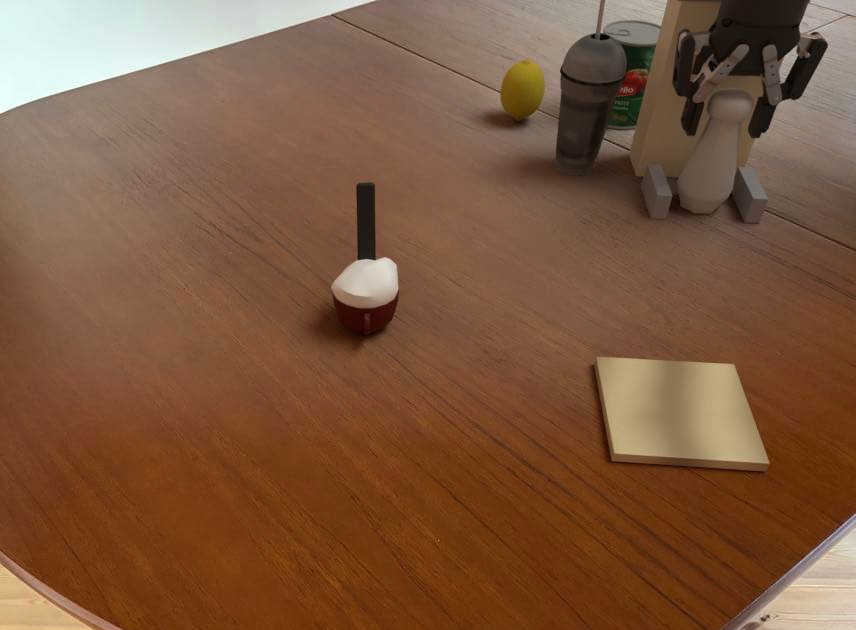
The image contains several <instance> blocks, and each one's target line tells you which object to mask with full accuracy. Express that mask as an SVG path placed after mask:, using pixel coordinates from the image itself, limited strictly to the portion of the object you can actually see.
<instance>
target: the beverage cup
mask: <svg viewBox="0 0 856 630" xmlns="http://www.w3.org/2000/svg"><path fill="white" fill-rule="evenodd" d="M605 5H606V0H600V3H599V9H598V15H597V21H596V29H595V32H594V33H589V34H586V35H584V36H582V37H581V38H579V39H578V40H577V41H575V42H574V43H573V44H572V45H571V46H570V47H569V49H568V50H567V52H566V54H565V56H564V59H563V61H562V64H561V66H560V68H559V74H560V78H559V79H560V80H559V81H560V82H559V83H560V85H559V87H560V90H561V91H560V99H559V100H560V102H559V111H558V123H557V134H556V142H555V143H556V144H555V164H554V166H555V168H556V169H557V170H558V171H559V172H561V173H563V174H565V175H570V176H583V175H587V174H589V173H591V172H592V171H593V169H594V165H595V163H596V160H597V159H598V156H599V153H600V151H601V147H602V144H603V140H604V137H605V134H606V131H607V129H608V128H607V125H608V122H609V119H610V115H611V112H612V109H613V106H614V103H615V100H616V97H617V95H618V94H619V92H620V89H621V87H622V85H623V81H624V80H625V79H626V55H625V52H624V49H623V48H622V46H621V44H620V43H619V42H618V41H617V40H616V39H615V38H613V37H612V36H610V35H607V34H604V33H603V32H602V24H603V19H604V11H605Z"/></svg>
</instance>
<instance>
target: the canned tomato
mask: <svg viewBox="0 0 856 630" xmlns="http://www.w3.org/2000/svg"><path fill="white" fill-rule="evenodd" d="M660 28H661V25H660V24H657V23H655V22H651V21H645V20H640V19H639V20H638V19H624V20H623V19H622V20H616V21H612V22H609V23H607V24H606V25H605V26H604V27H603V29H602V31H603V32H602V33H604V34H607V35H610V36H612V37H613V38H615V39H616V40H617V41H618V42H619V43H620V44H621V46H622V48H623V49H624V52H625V55H626V79H625V80H624V81H623V85H622V87H621V89H620V92H619V94H618V95H617V97H616V100H615V103H614V106H613V109H612V112H611V115H610V119H609V122H608V125H607V128H606V129H612V130H619V131H620V130H635V128H636V124H637V120H638V116H639V112H640V108H641V104H642V100H643V96H644V92H645V88H646V84H647V80H648V76H649V72H650V68H651V64H652V60H653V56H654V52H655V48H656V44H657V40H658V36H659V32H660Z"/></svg>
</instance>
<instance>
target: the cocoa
mask: <svg viewBox="0 0 856 630" xmlns="http://www.w3.org/2000/svg"><path fill="white" fill-rule="evenodd" d="M355 189H356V191H355V192H356V193H355V196H356V241H357V244H356V245H357V249H356V250H357V259H356V260H354V261H353V262H352V263H350V264H349V265H348V266H347V267H345V268H344V269H343V271H342V272H341V273H340V274H339V276H337V277H336V278H335V280H333V282H332V284H331V286H330V289H331V291H332V301H333V305H334V309H335V311H336V314H337V317H338V319H339V321H340V322H341V323H342V324H343V325H344V327H347V328H348V329H350V330H351V331H356V332H359V333H363V334H364V335H370V333H372V332H376V331H380V330H382V329H384V328H385V327H386V326H387V325H388V324H389V323H390V322H392V320H393V318H394V316H395V313H396V310H397V307H398V302H399V297H400V288H399V276H398V275H399V274H398V265H397V264H396V263H395V262H394V261H393V260H392V259H391V258H389V257H381V258H377V256H376V255H377V252H376V251H377V250H376V249H377V248H376V247H377V245H376V241H377V239H376V184H375V183H373V181H372V182H371V181H370V182H369V181H368V182H358V183H357V184H356V186H355Z"/></svg>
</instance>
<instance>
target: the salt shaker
mask: <svg viewBox="0 0 856 630" xmlns="http://www.w3.org/2000/svg"><path fill="white" fill-rule="evenodd" d="M753 102H754V100H753V99H752V97H751V96H750V94H749V93H747V92H745V91H744V90H740V89H736V88H722V89H719V90H717V91H715V92H713V94H712V96H711V98H710V100H709V101H708V105H707V112H708V114H709V115H710V117H709V119H708V121H707V123H706V125H705V127H704V129H703V131H702V133H701V135H700V137H699V139H698V141H697V143H696V145H695V147H694V149H693V151H692V153H691V155H690V157H689V159H688V161H687V163H686V165H685V167H684V169H683V171H682V173H681V175H680V177H679V178H677V181H676V189H677V194H678V199H679V206H680V207H681V208H682V209H685V210H686V211H689V212H690V213H693V214H709V215H710V214H712V213H713V212H714V211H716V209H717V208H719V207H720V206H721V205H722V204H723V203H725V201H726V200H728V199H729V197H730V195H731V191H732V190H733V184H734V177H735V169H736V161H737V154H738V146H739V138H740V131H741V123H742V121H743V120H745V119H747V117H748V116H749V114H750V112H751V110H752V108H753Z"/></svg>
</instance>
